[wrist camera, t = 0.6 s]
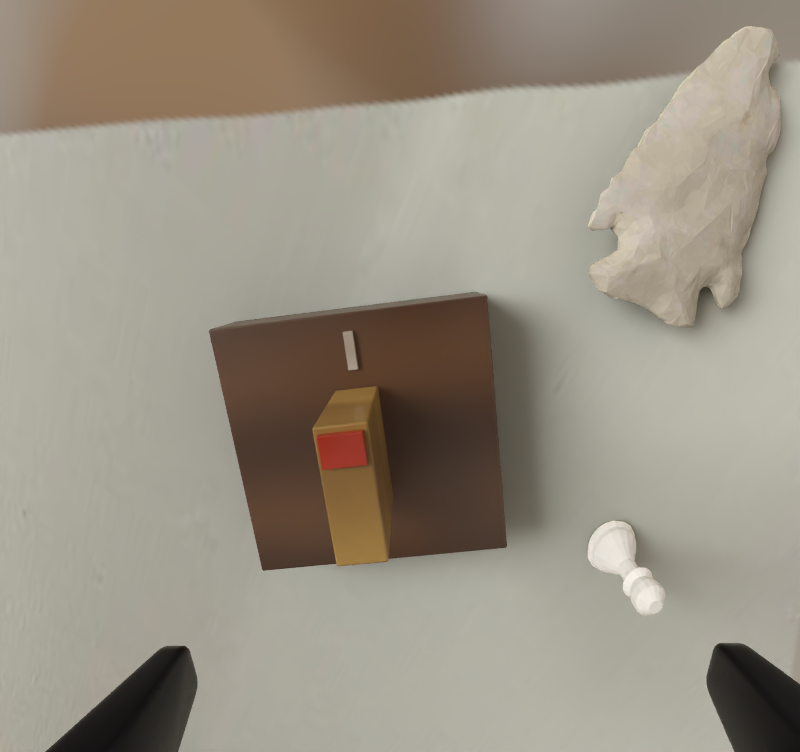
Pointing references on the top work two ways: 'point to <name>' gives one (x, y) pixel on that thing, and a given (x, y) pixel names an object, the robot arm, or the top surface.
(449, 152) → the top surface
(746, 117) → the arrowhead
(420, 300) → the lock plate
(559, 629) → the top surface
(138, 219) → the top surface
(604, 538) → the chess pawn
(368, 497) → the red-tipped wooden block
